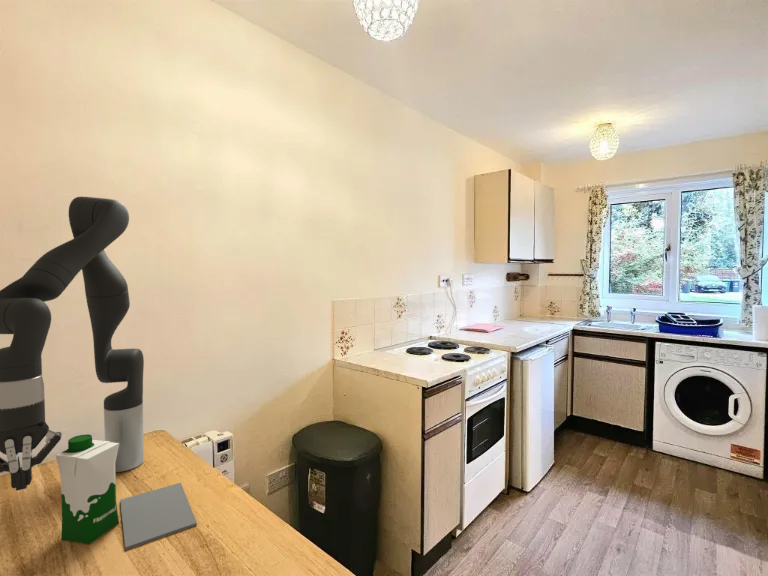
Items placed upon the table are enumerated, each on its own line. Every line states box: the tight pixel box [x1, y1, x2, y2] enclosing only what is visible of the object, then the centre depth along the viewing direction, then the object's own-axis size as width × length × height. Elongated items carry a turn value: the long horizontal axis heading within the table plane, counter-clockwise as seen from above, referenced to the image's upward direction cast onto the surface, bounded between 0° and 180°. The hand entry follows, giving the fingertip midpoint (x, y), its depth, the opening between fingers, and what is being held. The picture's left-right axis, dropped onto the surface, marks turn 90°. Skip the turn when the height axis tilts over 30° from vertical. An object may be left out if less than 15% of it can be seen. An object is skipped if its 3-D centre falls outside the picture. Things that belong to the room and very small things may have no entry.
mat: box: [119, 482, 198, 551], centre depth 89 cm, size 20×13×1 cm, turn 36°
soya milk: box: [55, 434, 120, 545], centre depth 82 cm, size 9×9×20 cm
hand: (21, 487), depth 76 cm, fingers closed
